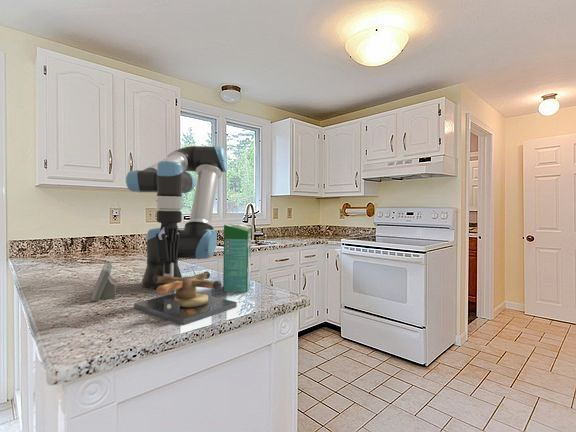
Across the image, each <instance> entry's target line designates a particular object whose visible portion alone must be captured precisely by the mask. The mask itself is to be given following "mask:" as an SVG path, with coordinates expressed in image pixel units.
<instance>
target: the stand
mask: <svg viewBox="0 0 576 432" xmlns="http://www.w3.org/2000/svg"><path fill="white" fill-rule="evenodd" d="M199 293H200V292H199ZM200 294H202V293H200ZM207 295H208V294H207ZM175 297H176V292H175V293H172V294H171V293H170V294H168V295H161V296H158V297H154V298H151V299H146V300H142V301H141V300H140V301H138V302H134V303H133V309H135V310H138V311H142V312H143V313H147V314H150V315H153V316H156V317H159V318H161V319H165V320H167V321H171V322H174V323H176V324H179V325H182V326H184V325H185V326H186V325H187V324H190V323H193V322H197V321H199V320H203V319H206V318H209V317H212V316H215V315H217V314H220V313H222V312H227V311H229V310H232V309H234V308H238V306H237V305H238V302H237V301H233V300H229V299H226V298H221V297H216V296H213V295H208V303H206V304H204V305H201V306H196V307H180V301H176V300H174V298H175Z"/></svg>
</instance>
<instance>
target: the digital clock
mask: <svg viewBox="0 0 576 432" xmlns="http://www.w3.org/2000/svg"><path fill="white" fill-rule="evenodd" d="M112 267H113V265H112V263H110V262H105V263H104V265H103V267H102V268H101V271H100V274H99V275H98V279H97V281H96V284H95V285H94V289H93V291H92V292H91V293H92V294H91V297H90V300H91V301H92V302H98V301H100V300H109V299H115V298H116V294H117V293H116V291H117V289H116V288H117V286H116V285H117V281H116V279H115V278H113V277H112V276H111V271H112Z"/></svg>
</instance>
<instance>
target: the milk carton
mask: <svg viewBox="0 0 576 432" xmlns="http://www.w3.org/2000/svg"><path fill="white" fill-rule="evenodd" d="M251 267H252V229H250V228H249V227H248V225H244V224H240V223H238V224H237V225H234V224H231V223H226V224H224V225H223V278H222V282H223V283H222V284H223V285H222V288H223V289H222V290H223V292H230V293H231V292H233V293H234V292H236V293H237V292H238V293H239V292H240V293H242V292H243V293H248V291H249V289H250V287H251V282H252V281H251V280H252V279H251V278H252V277H251V276H252V275H251V274H252V268H251Z"/></svg>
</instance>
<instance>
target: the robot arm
mask: <svg viewBox="0 0 576 432" xmlns="http://www.w3.org/2000/svg"><path fill="white" fill-rule="evenodd" d="M225 151H226V150H225V149H224V148H223V147H222V146H217V145H216V146H215V145H214V146H207V145H206V146H202V145H201V146H199V145H196V146H195V145H189V146H184V147H182V148H178V149H176V150H173V151H172V152H170V153H169V154H168V155H167V157H166V158H163V159H162V160H160V161H157V162H155V163H154V164H152V165H150V166H149V167H146V168H145V169H142V170H139V169H136V170H130V171H128V173H127V174H126V176H125V177H126V178H125V183H126V187H127V189H128V190H129V191H130V192H133V193H134V192H136V193H156V196H157V197H156V199H155V200H156V208H157V211H156V222H157V223H158V224H160V227H156V228H150V229H149V230H148V231H147V236H146V267H145V271H144V274H143V276H142V278H141V285H142V286H141V287H144V288H149V289H157V288H158V287H159V286H160V285H165V284H167V283H155V282H154V281H153V277H154V276H155V275H160V276H168V277H178V278H180V277H183V276H182V273H181V270H180V267H179V264H178V263H179V259H184V260H185V259H189V260H190V259H191V260H194V259H195V260H202V259H203V260H206V259H210V258H211V257H212V256H213V255H214V254H215V250H216V247H217V243H218V241H217V238H218V234H217V232H216V231H215V229H214V226H213V224H212V218H213V217H212V216H213V211H214V205H215V198H216V193H217V185H218V179H220V178H221V177H222V175H223V173H226V172H227V170H228V161H227V155H226V152H225ZM189 172H194V173H196V175H197V181H196V180H195V177H194V176H193V175H192V173H189ZM194 188H195V192H194V194H193V195H194V196H193V201H192V207H191V212H190V218H189V220H188V221H187V222H186V223H184V228H183V229H179V226H178V223H181V222H183V221H182V219H183V218H182V217H183V215H182V211H181V210H182V209H183V194H188V193H190V192H191V191H193V190H194Z"/></svg>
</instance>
